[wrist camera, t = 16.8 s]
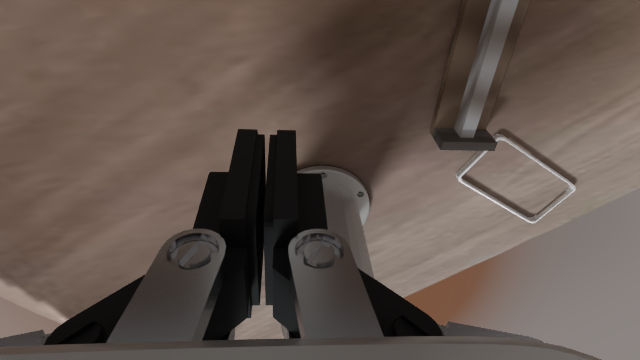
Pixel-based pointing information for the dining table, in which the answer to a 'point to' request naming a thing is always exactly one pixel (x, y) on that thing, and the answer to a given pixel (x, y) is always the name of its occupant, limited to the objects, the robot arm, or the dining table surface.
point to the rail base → (476, 72)
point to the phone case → (528, 219)
